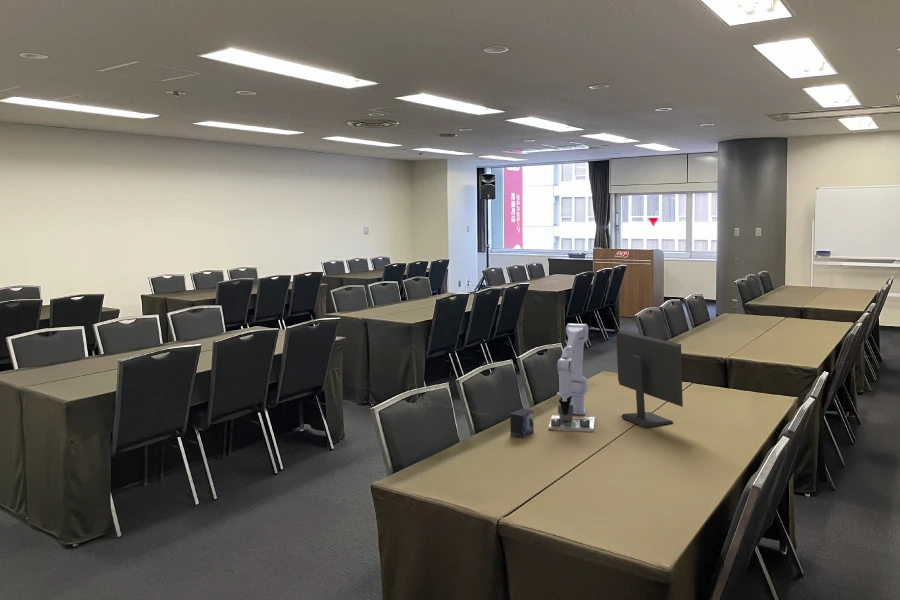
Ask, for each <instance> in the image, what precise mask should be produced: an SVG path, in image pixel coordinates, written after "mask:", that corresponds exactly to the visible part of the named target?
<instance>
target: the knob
mask: <svg viewBox="0 0 900 600" xmlns="http://www.w3.org/2000/svg"><path fill="white" fill-rule="evenodd" d="M557 414H558V416H559V419H560V420H561V421H572V420H581V419H584V418H572V416H573V415H574V414H573V405H569V410H568V414H567V415H566V414H563V412H562V407H561V404H560V403H558V404H557Z"/></svg>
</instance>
